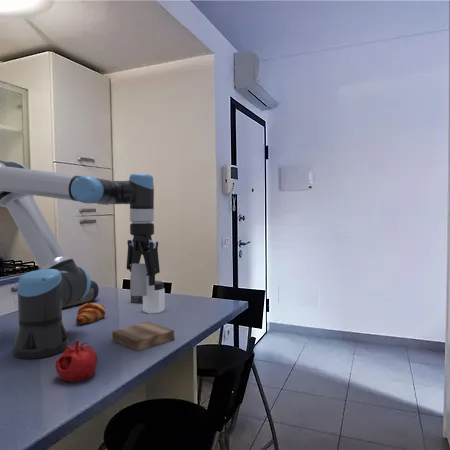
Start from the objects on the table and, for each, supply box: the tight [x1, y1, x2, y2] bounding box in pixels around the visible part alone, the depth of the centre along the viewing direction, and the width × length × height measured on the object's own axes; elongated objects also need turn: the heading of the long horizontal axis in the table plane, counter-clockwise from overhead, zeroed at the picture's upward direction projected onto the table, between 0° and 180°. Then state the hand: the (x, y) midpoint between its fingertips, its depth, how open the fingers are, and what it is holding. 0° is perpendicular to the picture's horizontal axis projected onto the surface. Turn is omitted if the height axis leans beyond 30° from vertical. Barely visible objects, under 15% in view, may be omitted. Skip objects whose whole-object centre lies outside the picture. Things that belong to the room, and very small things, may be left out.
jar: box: [142, 280, 166, 314], centre depth 159 cm, size 9×8×12 cm
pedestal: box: [112, 321, 175, 352], centre depth 122 cm, size 14×14×3 cm
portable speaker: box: [62, 280, 100, 309], centre depth 170 cm, size 25×10×10 cm, turn 149°
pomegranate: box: [54, 339, 98, 382], centre depth 95 cm, size 10×10×9 cm
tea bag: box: [129, 263, 151, 297], centre depth 122 cm, size 4×7×10 cm, turn 86°
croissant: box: [75, 302, 106, 325], centre depth 148 cm, size 21×10×8 cm, turn 176°
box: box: [130, 296, 143, 305], centre depth 176 cm, size 8×6×11 cm
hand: (142, 293), depth 122 cm, fingers closed on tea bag, 7 cm apart
